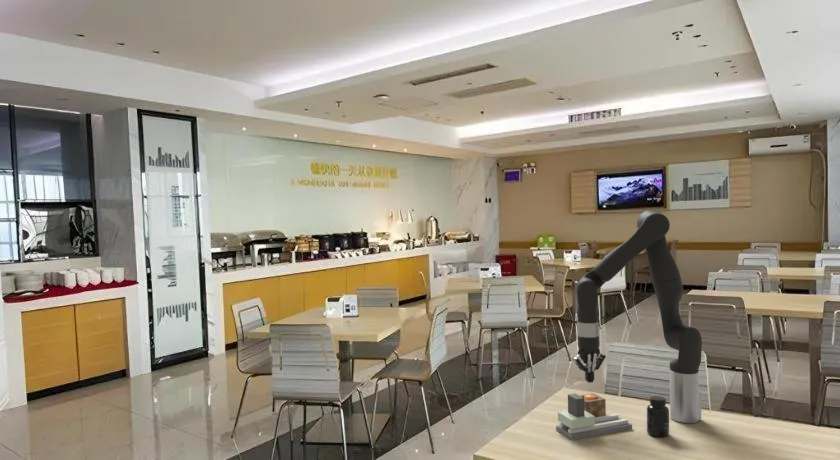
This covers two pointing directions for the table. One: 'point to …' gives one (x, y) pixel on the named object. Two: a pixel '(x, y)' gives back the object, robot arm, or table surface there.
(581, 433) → the track
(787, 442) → the table surface
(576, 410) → the carriage
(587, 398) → the button
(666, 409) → the supplement bottle
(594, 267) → the robot arm
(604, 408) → the cabinet
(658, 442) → the table surface
